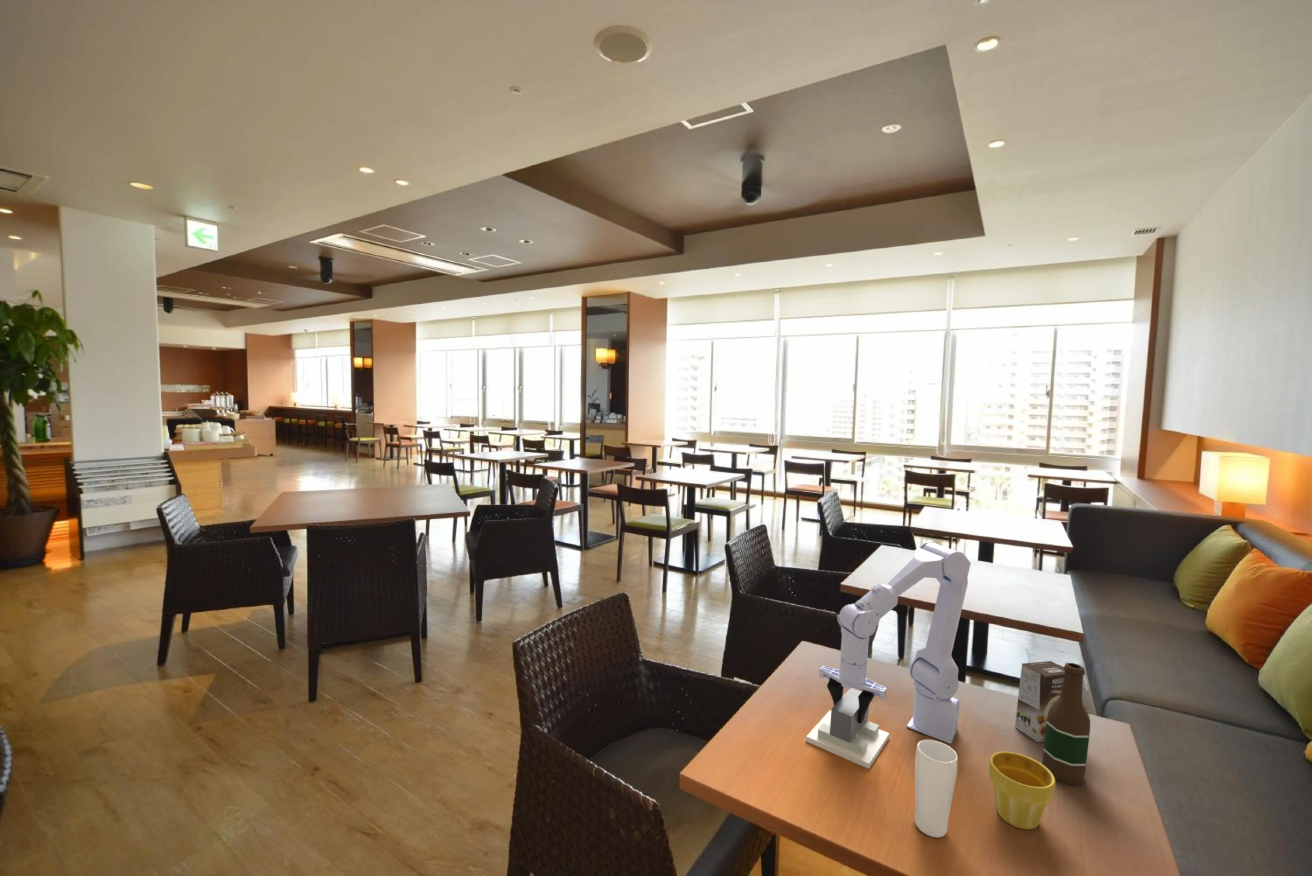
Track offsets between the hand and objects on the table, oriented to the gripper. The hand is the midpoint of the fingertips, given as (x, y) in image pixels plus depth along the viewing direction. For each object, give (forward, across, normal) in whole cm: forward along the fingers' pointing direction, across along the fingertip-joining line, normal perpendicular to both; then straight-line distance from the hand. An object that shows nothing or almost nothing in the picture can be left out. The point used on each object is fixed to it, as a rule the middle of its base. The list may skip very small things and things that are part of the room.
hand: (849, 716), depth 129 cm
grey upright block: (+2, 0, 0) cm, 3 cm away
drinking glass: (+6, +21, -16) cm, 27 cm away
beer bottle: (+6, +39, +19) cm, 44 cm away
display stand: (+6, 0, 0) cm, 6 cm away
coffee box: (+6, +34, +34) cm, 48 cm away
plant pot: (+6, +33, -2) cm, 34 cm away
